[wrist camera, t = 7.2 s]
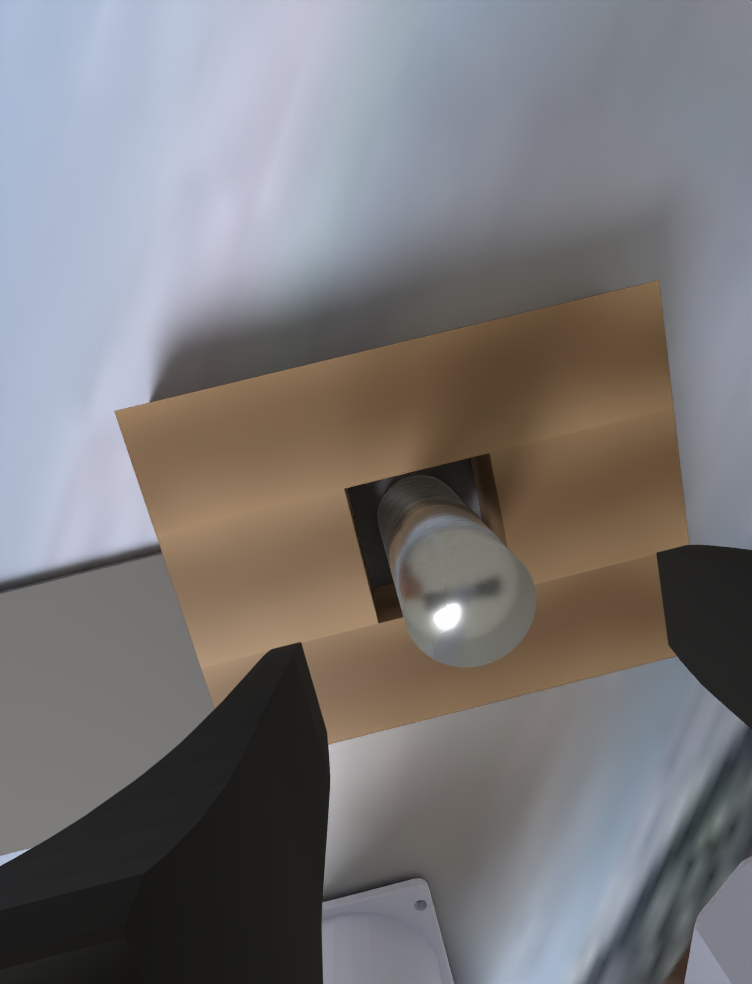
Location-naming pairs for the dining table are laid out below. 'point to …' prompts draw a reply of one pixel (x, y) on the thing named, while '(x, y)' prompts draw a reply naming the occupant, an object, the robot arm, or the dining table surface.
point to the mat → (90, 692)
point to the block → (411, 447)
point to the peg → (453, 575)
